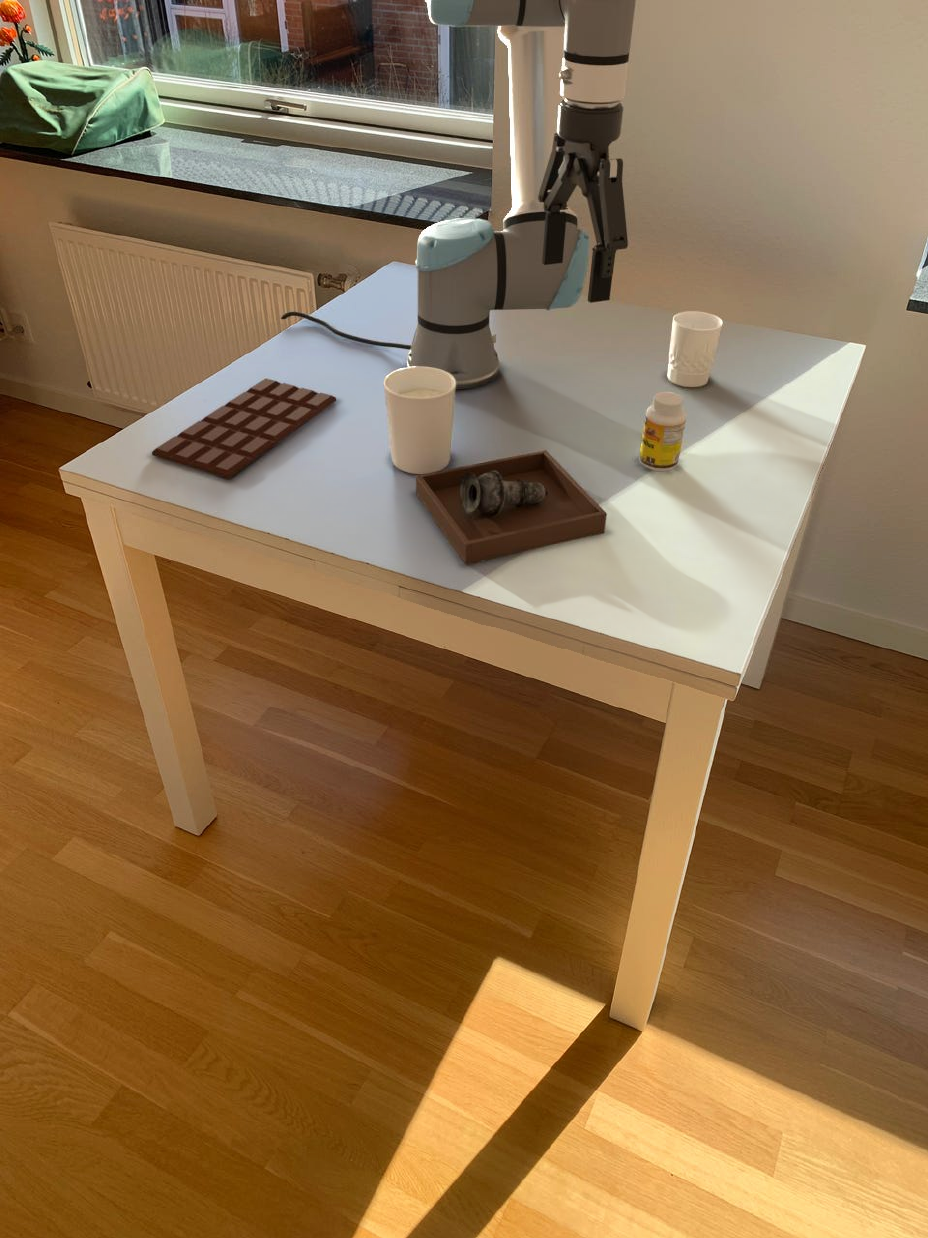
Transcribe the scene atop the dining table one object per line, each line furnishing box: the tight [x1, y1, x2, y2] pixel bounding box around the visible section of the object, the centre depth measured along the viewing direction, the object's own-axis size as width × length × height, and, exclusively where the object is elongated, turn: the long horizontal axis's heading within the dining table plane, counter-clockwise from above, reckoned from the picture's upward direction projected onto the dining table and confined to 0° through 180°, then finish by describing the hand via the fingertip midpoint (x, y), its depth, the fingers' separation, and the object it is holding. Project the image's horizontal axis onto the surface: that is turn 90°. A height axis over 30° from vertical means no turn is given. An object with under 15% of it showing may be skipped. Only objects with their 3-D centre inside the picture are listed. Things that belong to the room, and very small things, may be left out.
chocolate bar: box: [151, 378, 337, 480], centre depth 144 cm, size 27×14×1 cm, turn 153°
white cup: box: [666, 310, 724, 388], centre depth 157 cm, size 8×8×10 cm
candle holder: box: [383, 367, 457, 475], centre depth 134 cm, size 10×10×12 cm
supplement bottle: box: [638, 391, 687, 472], centre depth 135 cm, size 6×6×10 cm
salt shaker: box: [460, 470, 549, 516], centre depth 126 cm, size 6×6×12 cm
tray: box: [415, 449, 608, 565], centre depth 126 cm, size 19×17×3 cm
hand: (574, 281), depth 126 cm, fingers open, 13 cm apart
